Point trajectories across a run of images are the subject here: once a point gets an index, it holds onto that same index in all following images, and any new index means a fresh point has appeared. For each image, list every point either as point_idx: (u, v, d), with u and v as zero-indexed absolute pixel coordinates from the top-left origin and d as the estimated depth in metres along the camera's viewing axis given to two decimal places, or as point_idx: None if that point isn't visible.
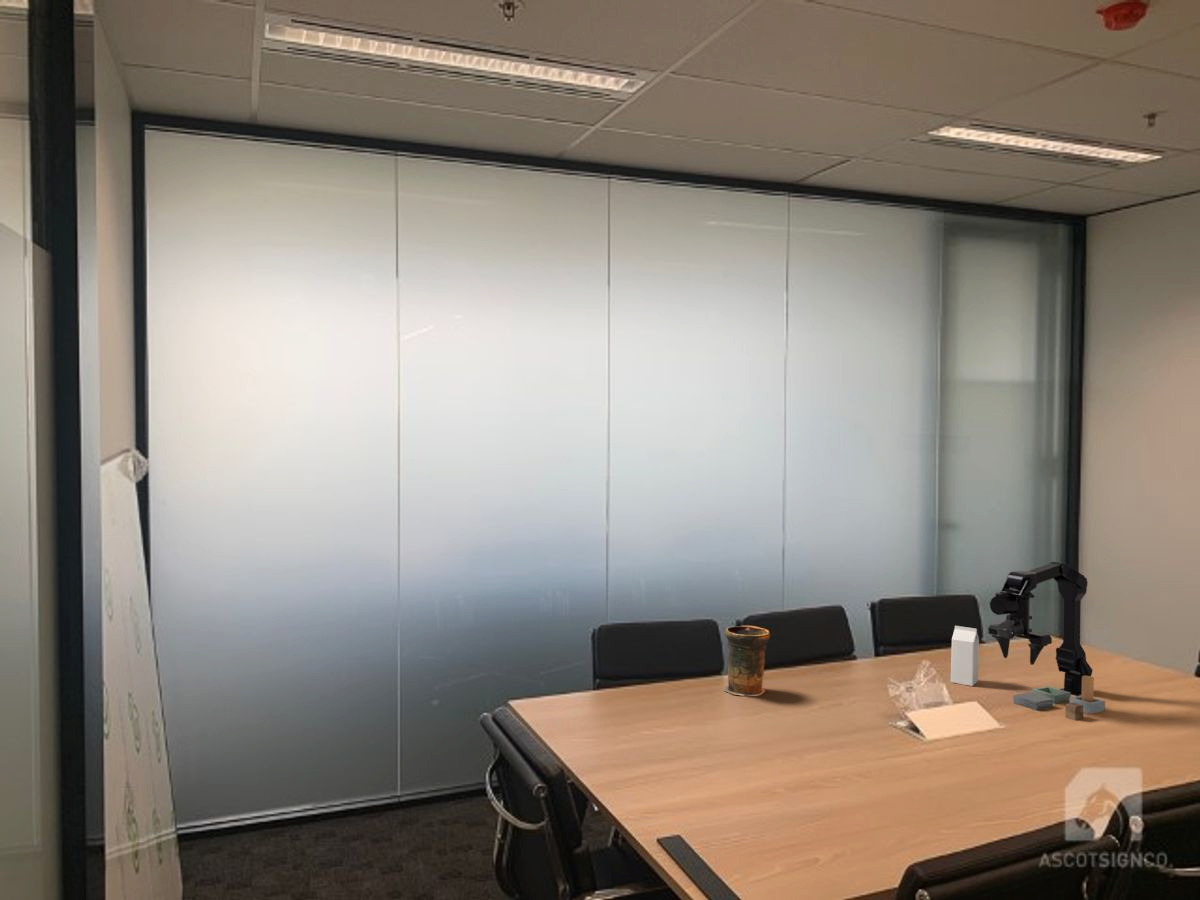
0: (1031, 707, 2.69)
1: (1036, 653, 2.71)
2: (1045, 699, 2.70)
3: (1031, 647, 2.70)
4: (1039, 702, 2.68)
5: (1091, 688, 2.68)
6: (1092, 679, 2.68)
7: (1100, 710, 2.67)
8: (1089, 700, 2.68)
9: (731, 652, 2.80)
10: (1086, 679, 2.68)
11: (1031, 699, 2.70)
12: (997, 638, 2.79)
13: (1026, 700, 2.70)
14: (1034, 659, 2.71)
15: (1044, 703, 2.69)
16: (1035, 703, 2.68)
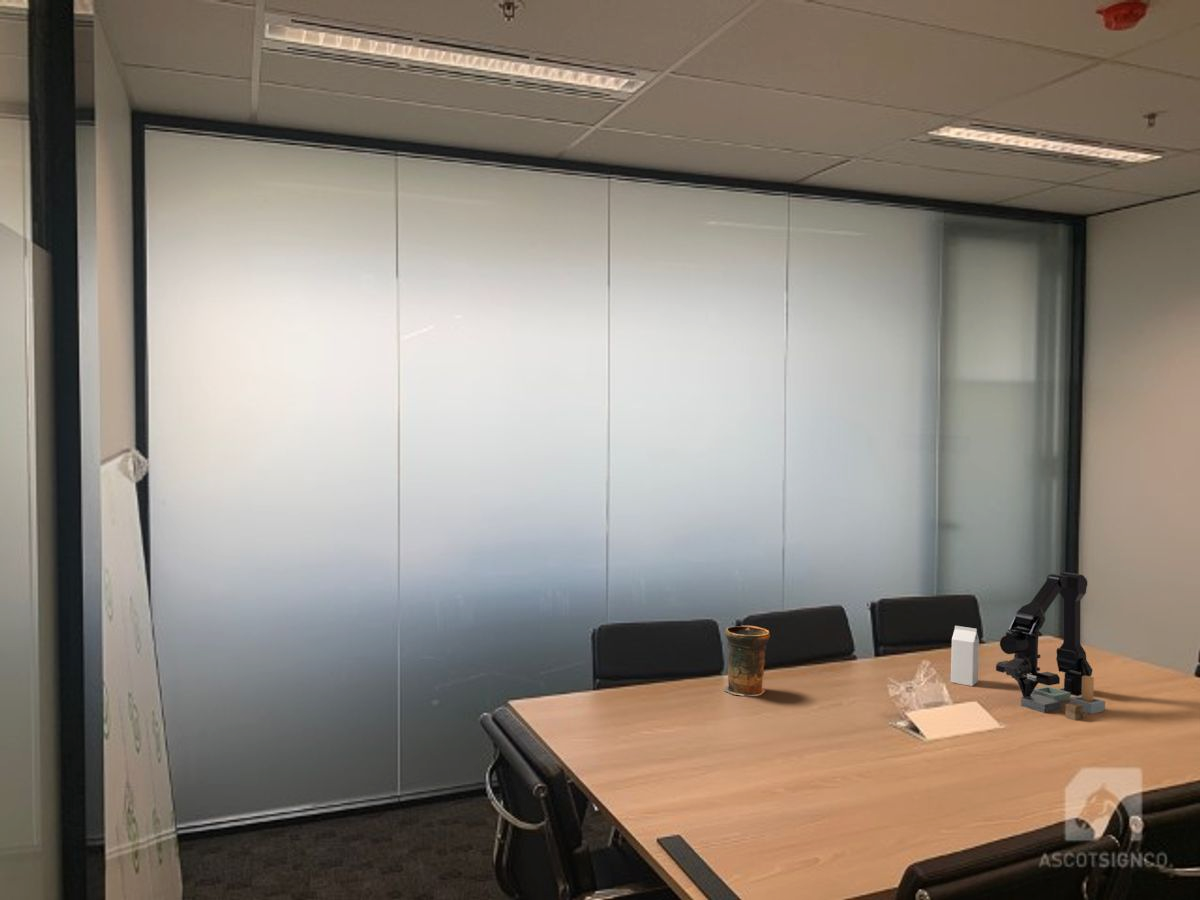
0: (1039, 709, 2.66)
1: (1031, 689, 2.74)
2: (1053, 701, 2.68)
3: (1025, 683, 2.73)
4: (1047, 704, 2.65)
5: (1091, 688, 2.68)
6: (1092, 679, 2.68)
7: (1100, 710, 2.67)
8: (1089, 700, 2.68)
9: (731, 652, 2.80)
10: (1086, 679, 2.68)
11: (1039, 701, 2.68)
12: (1017, 679, 2.75)
13: (1034, 702, 2.68)
14: (1029, 694, 2.74)
15: (1052, 705, 2.67)
16: (1043, 705, 2.65)
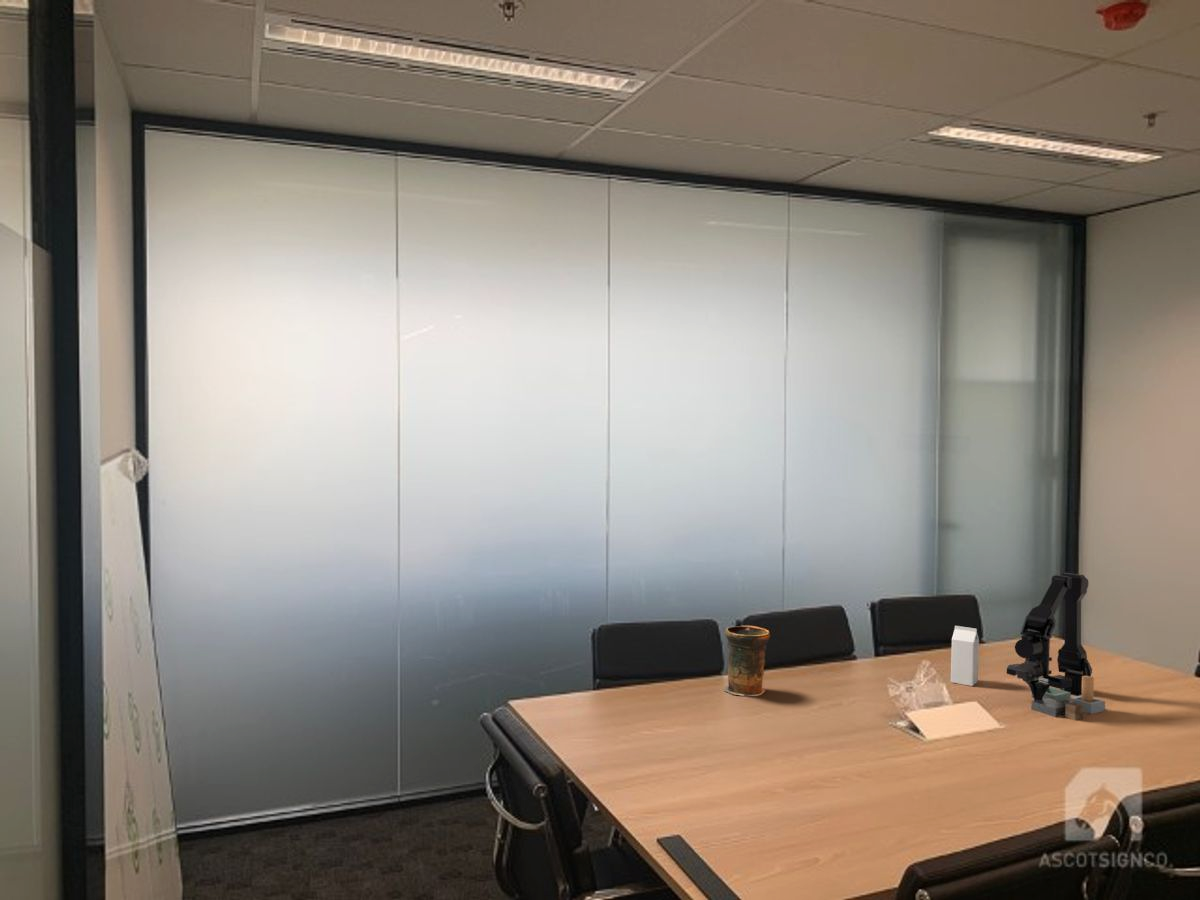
0: (1050, 713, 2.63)
1: (1042, 692, 2.70)
2: (1064, 705, 2.64)
3: (1037, 686, 2.69)
4: (1058, 708, 2.62)
5: (1091, 688, 2.68)
6: (1092, 679, 2.68)
7: (1100, 710, 2.67)
8: (1089, 700, 2.68)
9: (731, 652, 2.80)
10: (1086, 679, 2.68)
11: (1050, 705, 2.64)
12: (1028, 682, 2.71)
13: (1045, 706, 2.64)
14: (1040, 698, 2.71)
15: (1063, 709, 2.63)
16: (1054, 709, 2.62)
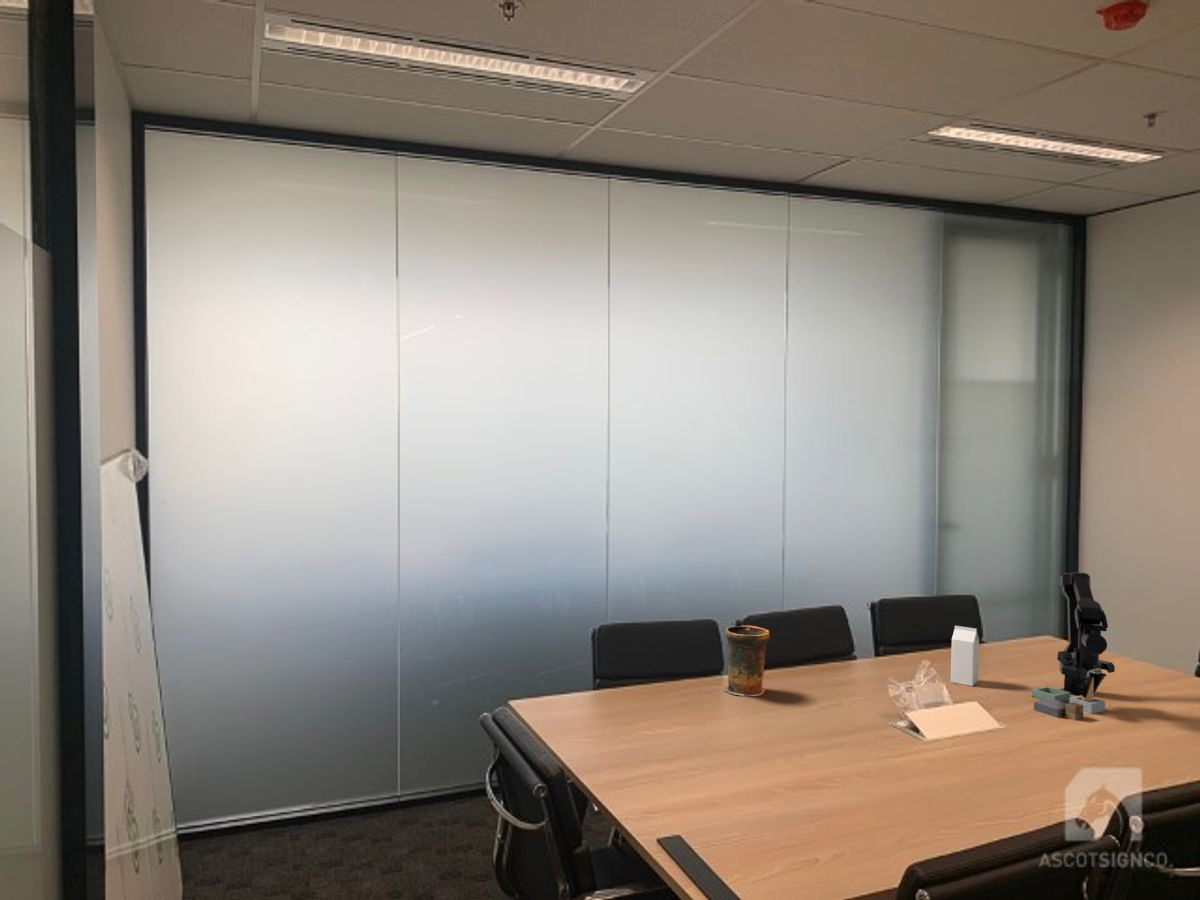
0: (1052, 714, 2.62)
1: (1083, 685, 2.68)
2: None
3: None
4: (1060, 709, 2.61)
5: (1091, 688, 2.68)
6: (1092, 679, 2.68)
7: (1100, 710, 2.67)
8: (1089, 700, 2.68)
9: (731, 652, 2.80)
10: None
11: (1052, 706, 2.63)
12: None
13: (1047, 707, 2.64)
14: (1083, 691, 2.68)
15: None
16: (1056, 710, 2.61)
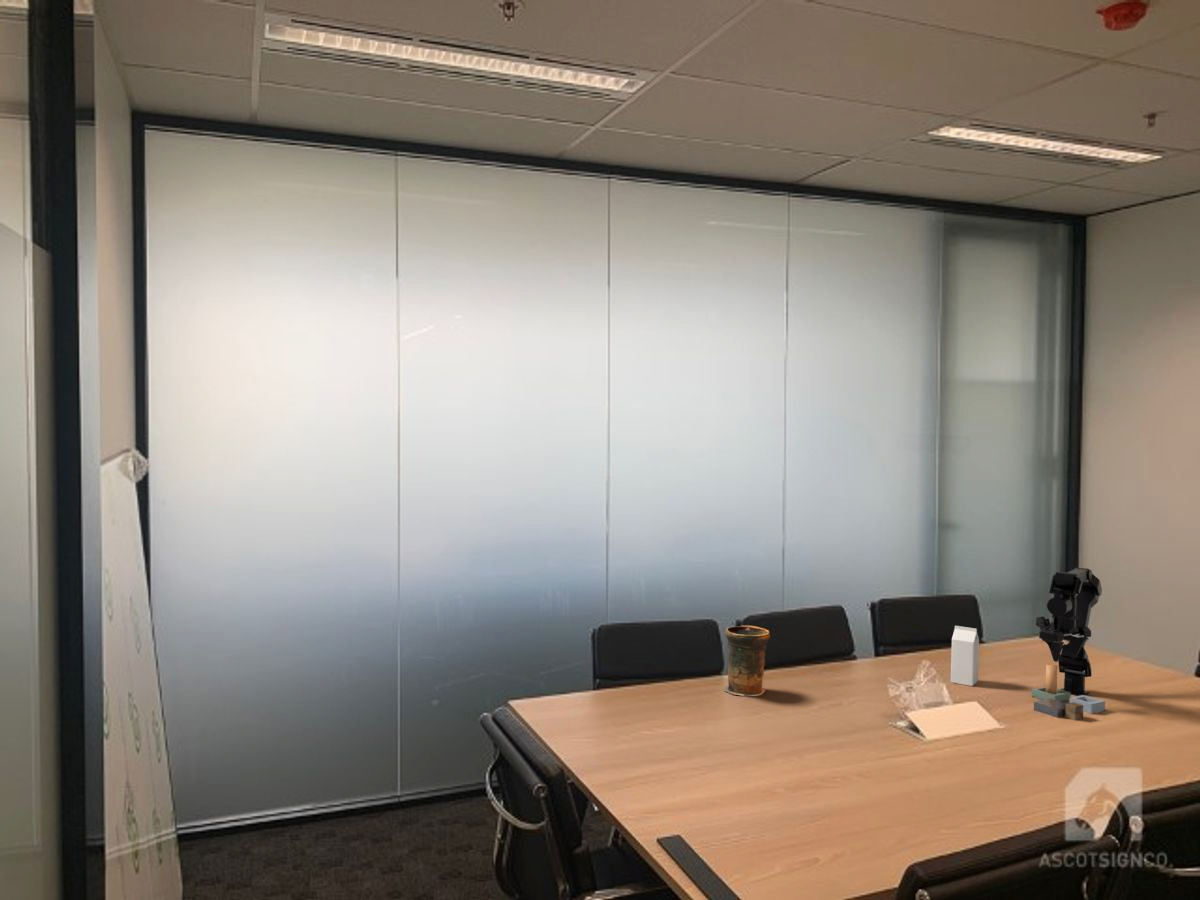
0: (1052, 714, 2.62)
1: (1054, 650, 2.75)
2: None
3: None
4: (1060, 709, 2.61)
5: (1055, 676, 2.79)
6: (1055, 667, 2.79)
7: (1100, 710, 2.67)
8: (1053, 688, 2.79)
9: (731, 652, 2.80)
10: (1050, 667, 2.79)
11: (1052, 706, 2.63)
12: None
13: (1047, 707, 2.64)
14: (1054, 656, 2.76)
15: None
16: (1056, 710, 2.61)
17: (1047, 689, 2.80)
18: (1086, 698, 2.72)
